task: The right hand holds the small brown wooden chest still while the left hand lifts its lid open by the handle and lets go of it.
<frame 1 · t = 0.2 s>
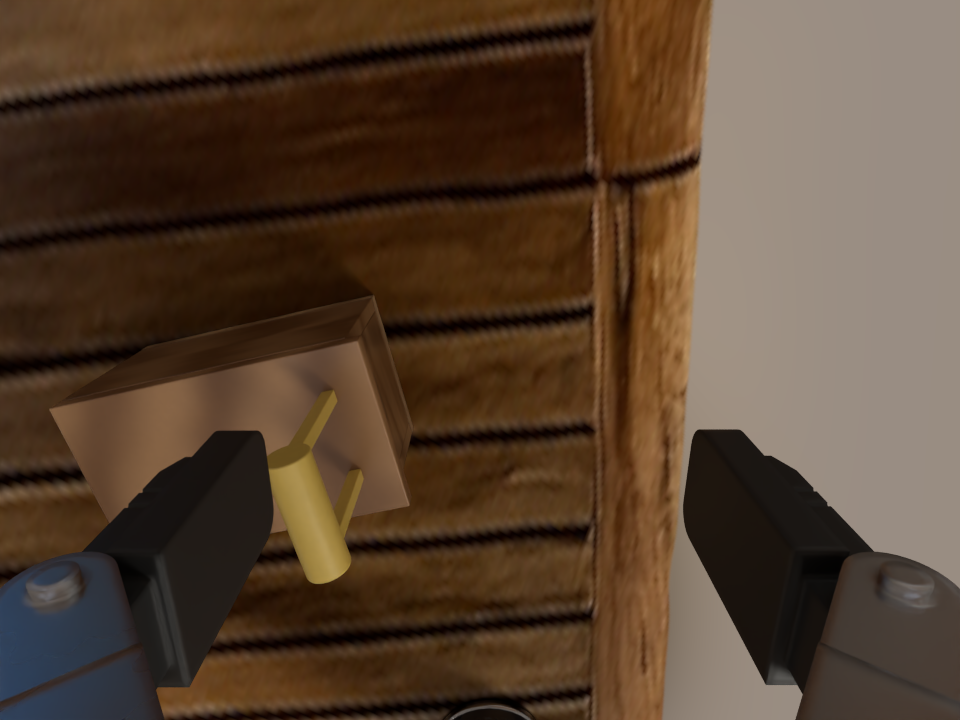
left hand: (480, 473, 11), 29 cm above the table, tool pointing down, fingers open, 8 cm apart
lid: (207, 495, 29), point 14 cm above the table, hinge at 0.0°
chest: (284, 387, 42), on the table
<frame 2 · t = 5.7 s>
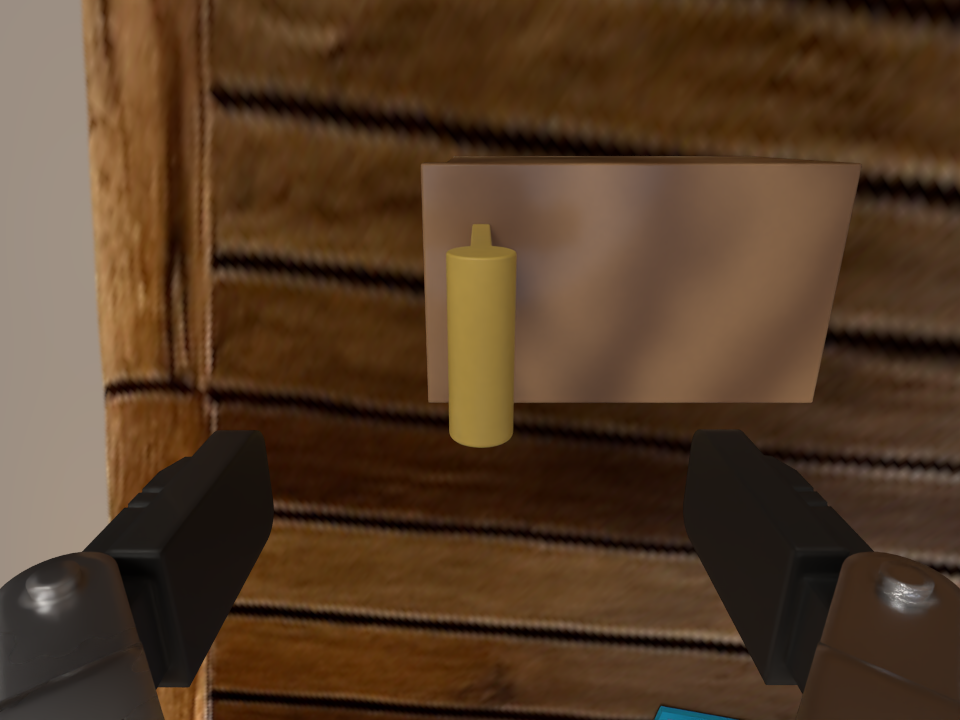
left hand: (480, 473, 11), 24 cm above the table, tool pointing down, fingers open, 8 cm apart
lid: (653, 315, 21), point 14 cm above the table, hinge at 0.0°
chest: (596, 249, 34), on the table
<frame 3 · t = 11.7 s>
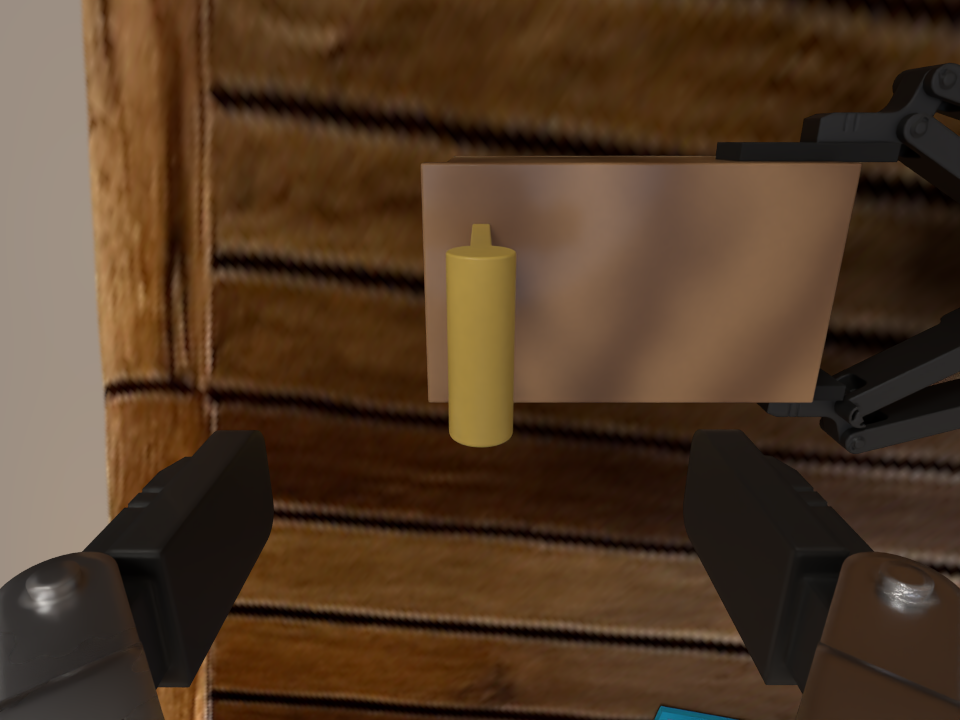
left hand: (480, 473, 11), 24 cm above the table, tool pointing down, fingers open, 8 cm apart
lid: (653, 315, 21), point 14 cm above the table, hinge at 0.0°
chest: (596, 249, 34), on the table, touching right hand
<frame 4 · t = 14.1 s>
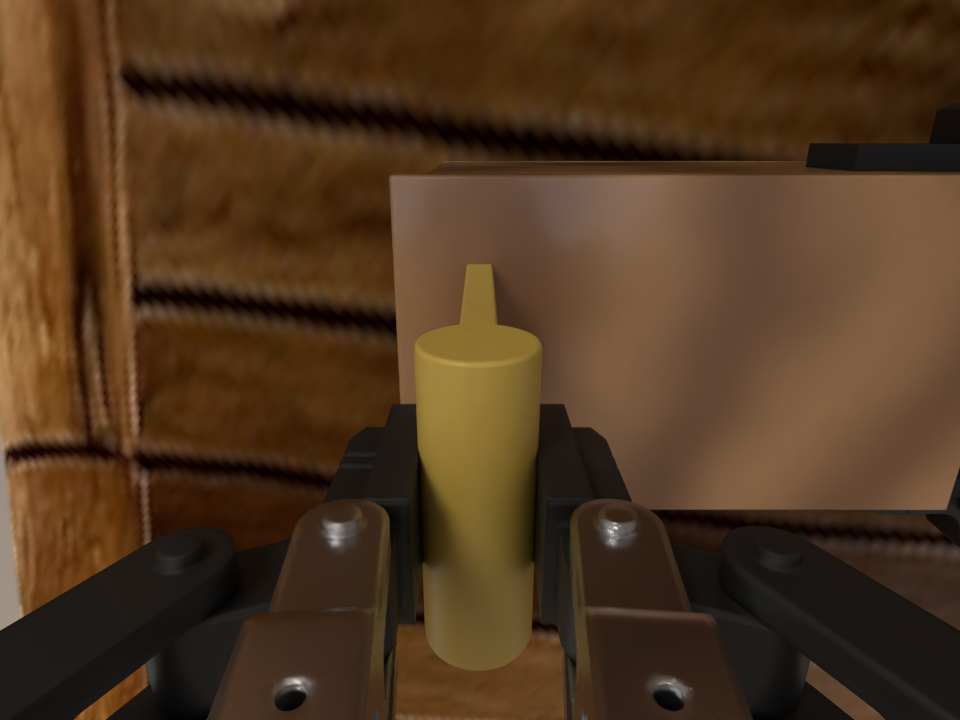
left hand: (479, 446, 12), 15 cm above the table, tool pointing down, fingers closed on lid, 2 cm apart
lid: (747, 412, 14), point 14 cm above the table, hinge at -0.1°, touching left hand
chest: (629, 281, 27), on the table, touching right hand
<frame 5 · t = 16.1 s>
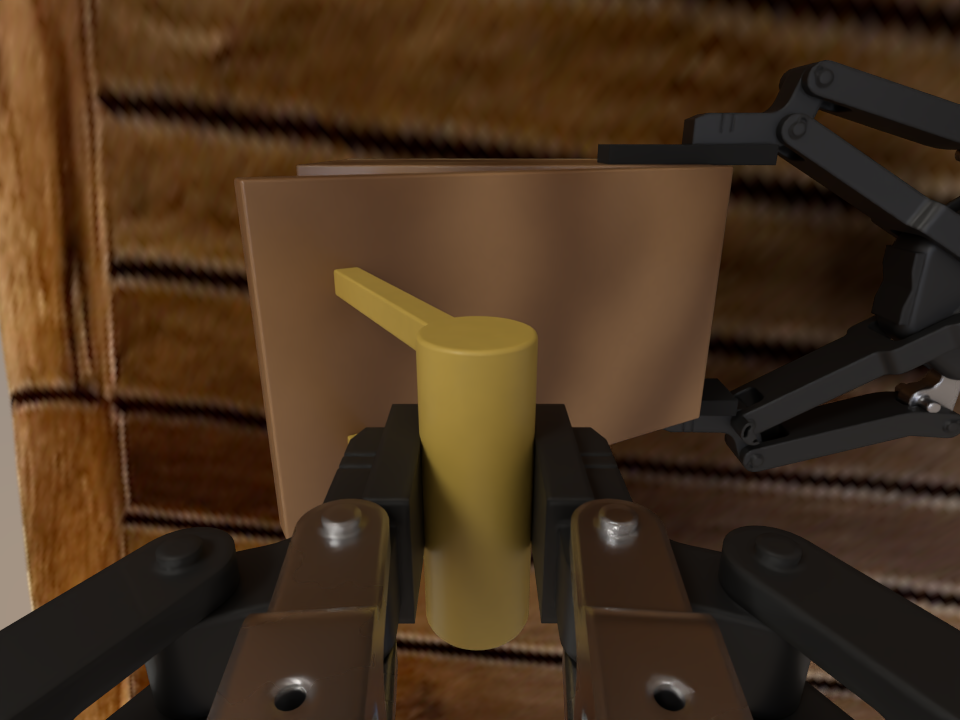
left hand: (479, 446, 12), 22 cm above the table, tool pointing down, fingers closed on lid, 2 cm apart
right hand: (594, 283, 26), fingers closed on chest, 10 cm apart
lid: (608, 366, 17), point 17 cm above the table, hinge at 31.0°, touching left hand
chest: (501, 255, 33), on the table, touching right hand
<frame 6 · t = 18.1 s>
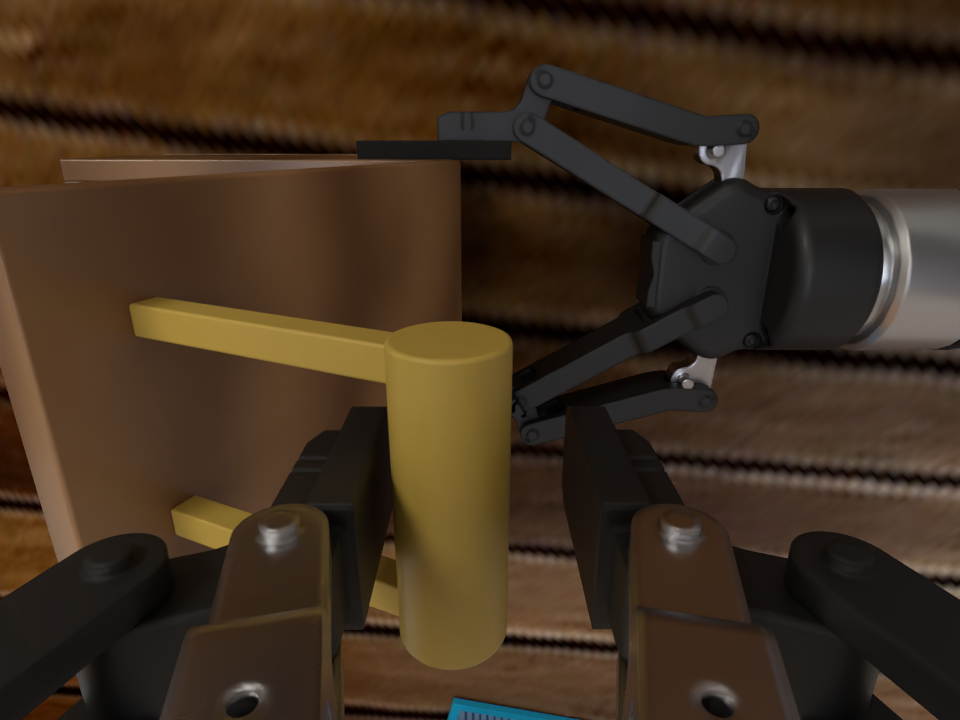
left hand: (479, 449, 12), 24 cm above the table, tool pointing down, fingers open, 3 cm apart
right hand: (370, 270, 28), fingers closed on chest, 10 cm apart
lid: (440, 357, 17), point 19 cm above the table, hinge at 65.1°
chest: (320, 245, 35), on the table, touching right hand
when the right hand's fingers open (7 cm above the table, at t = 22.3 s): chest stays where it is, on the table.
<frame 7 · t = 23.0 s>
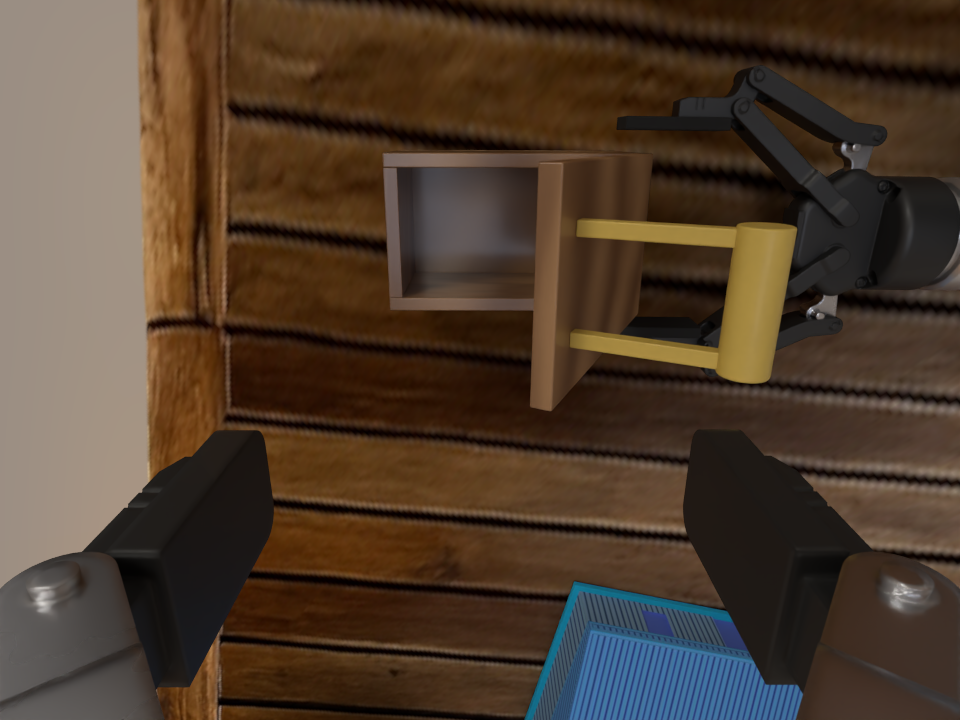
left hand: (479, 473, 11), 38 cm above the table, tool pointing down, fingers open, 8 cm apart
right hand: (611, 230, 41), fingers open, 13 cm apart
model building: (716, 699, 65), on the table
lid: (682, 266, 29), point 19 cm above the table, hinge at 64.1°
chest: (505, 218, 47), on the table
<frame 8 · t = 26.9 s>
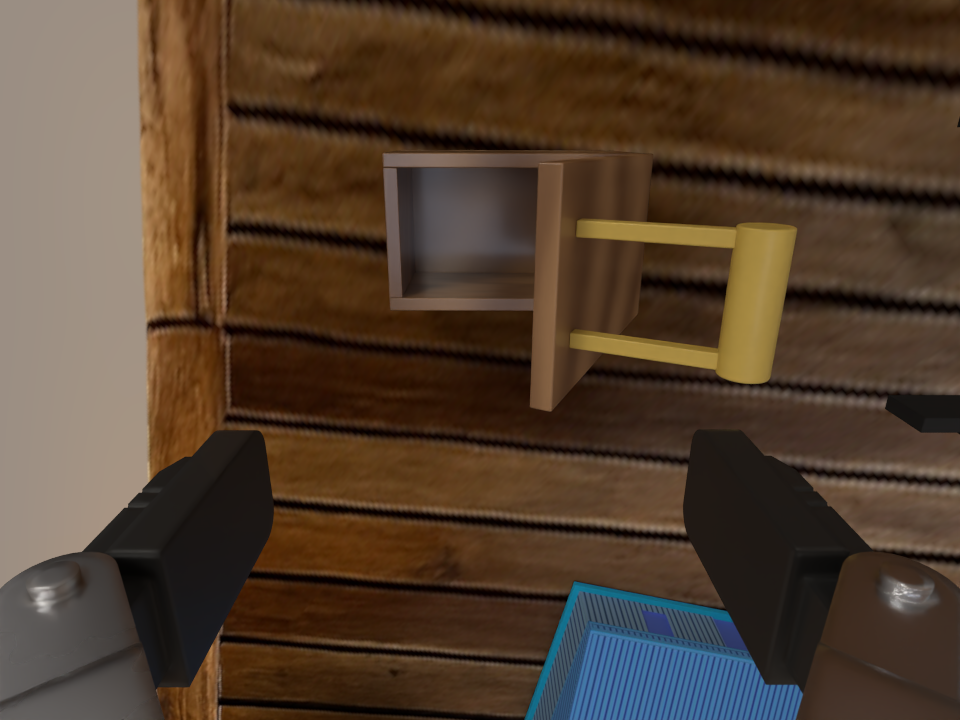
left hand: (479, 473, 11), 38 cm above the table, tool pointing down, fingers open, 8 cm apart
model building: (716, 699, 65), on the table
lid: (682, 266, 29), point 19 cm above the table, hinge at 64.1°
chest: (505, 218, 47), on the table
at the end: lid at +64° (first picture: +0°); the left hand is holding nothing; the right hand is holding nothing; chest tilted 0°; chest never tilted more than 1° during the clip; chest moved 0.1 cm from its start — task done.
